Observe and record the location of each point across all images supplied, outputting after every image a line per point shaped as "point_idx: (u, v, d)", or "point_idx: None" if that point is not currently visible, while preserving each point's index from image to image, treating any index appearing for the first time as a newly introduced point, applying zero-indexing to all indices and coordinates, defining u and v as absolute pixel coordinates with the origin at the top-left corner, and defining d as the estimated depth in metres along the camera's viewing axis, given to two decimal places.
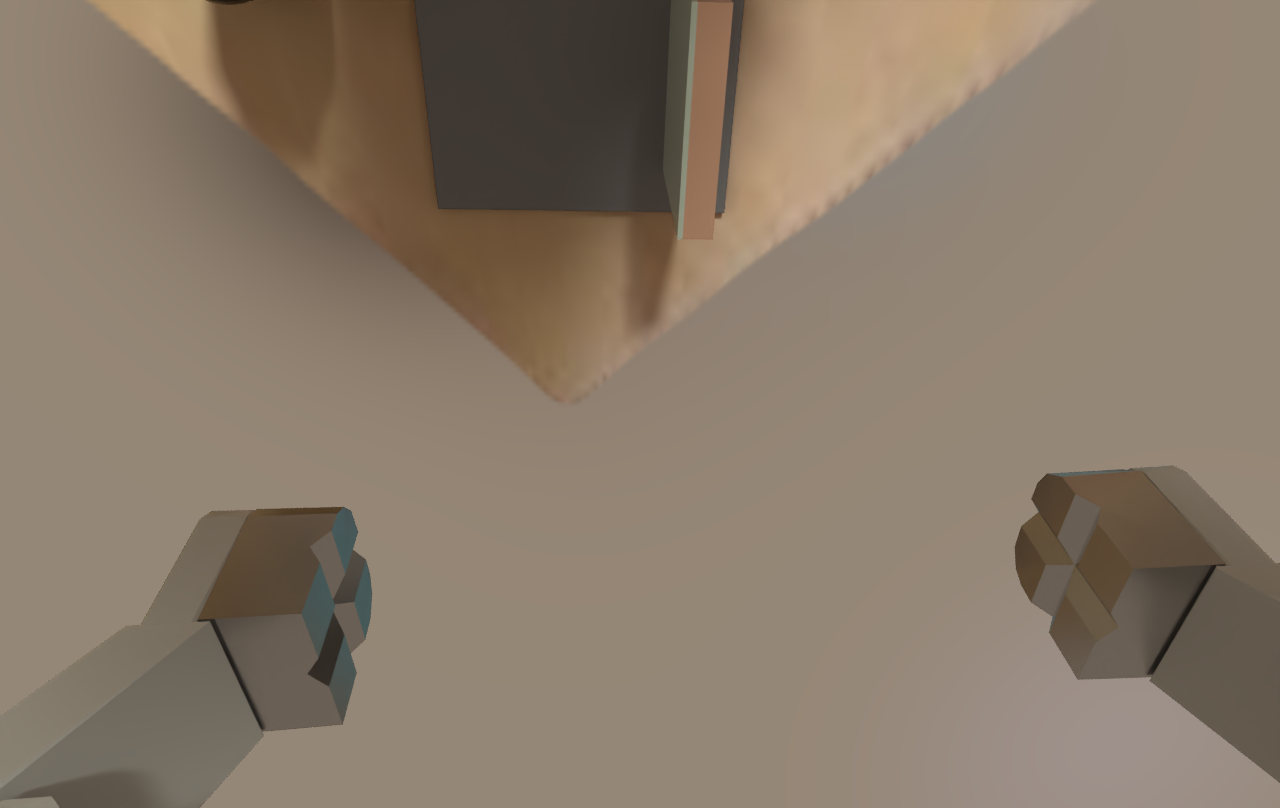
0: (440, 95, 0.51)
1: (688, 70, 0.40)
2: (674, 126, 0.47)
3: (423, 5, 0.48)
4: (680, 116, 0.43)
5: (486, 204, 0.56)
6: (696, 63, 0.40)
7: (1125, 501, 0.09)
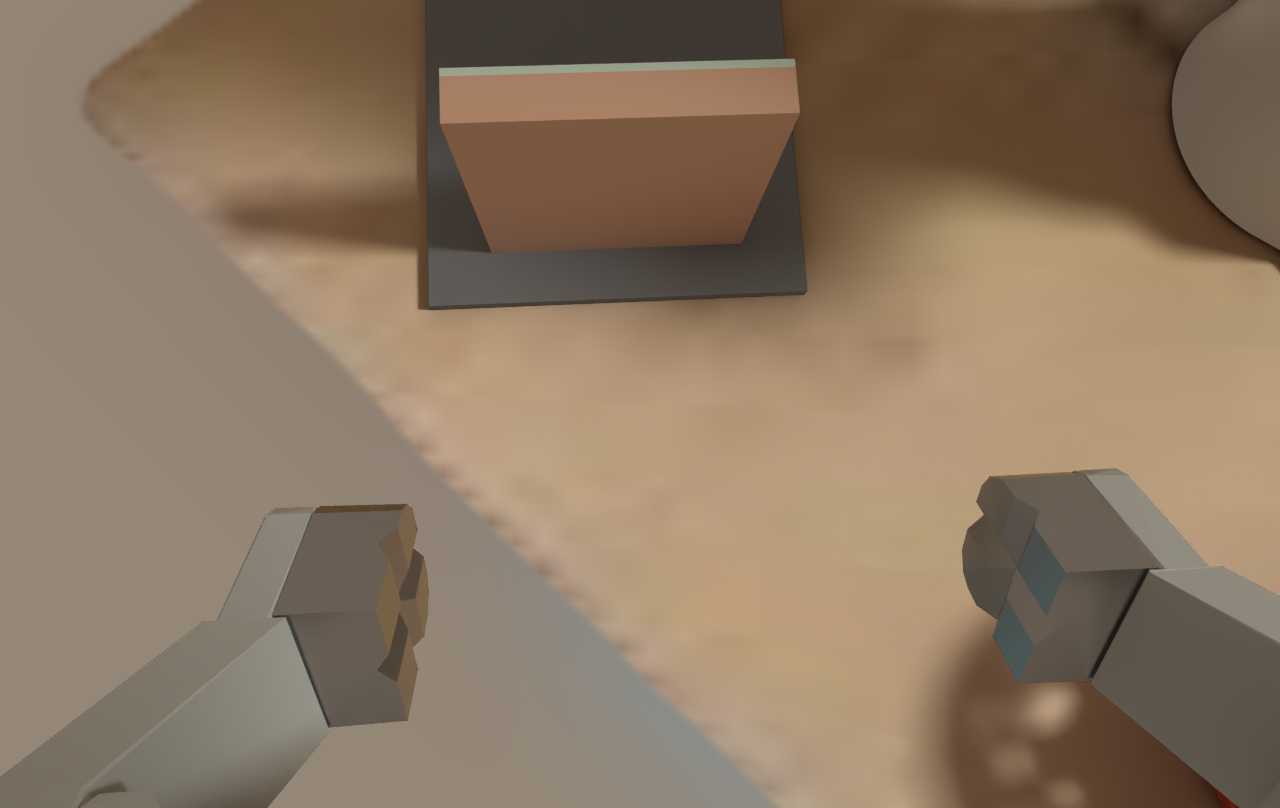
0: None
1: (704, 62, 0.27)
2: None
3: None
4: None
5: None
6: (715, 72, 0.27)
7: (1064, 504, 0.09)
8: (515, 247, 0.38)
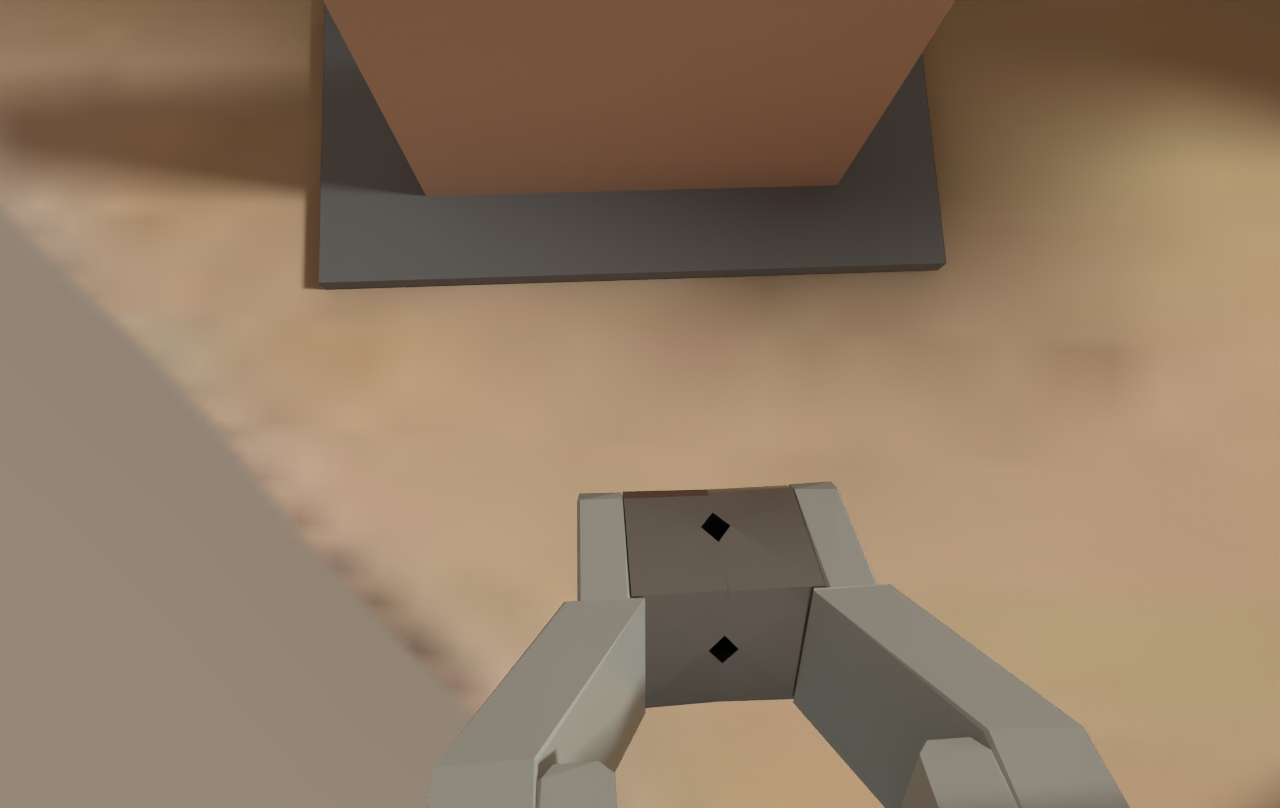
0: None
1: None
2: None
3: None
4: None
5: None
6: None
7: (757, 519, 0.08)
8: (463, 186, 0.23)
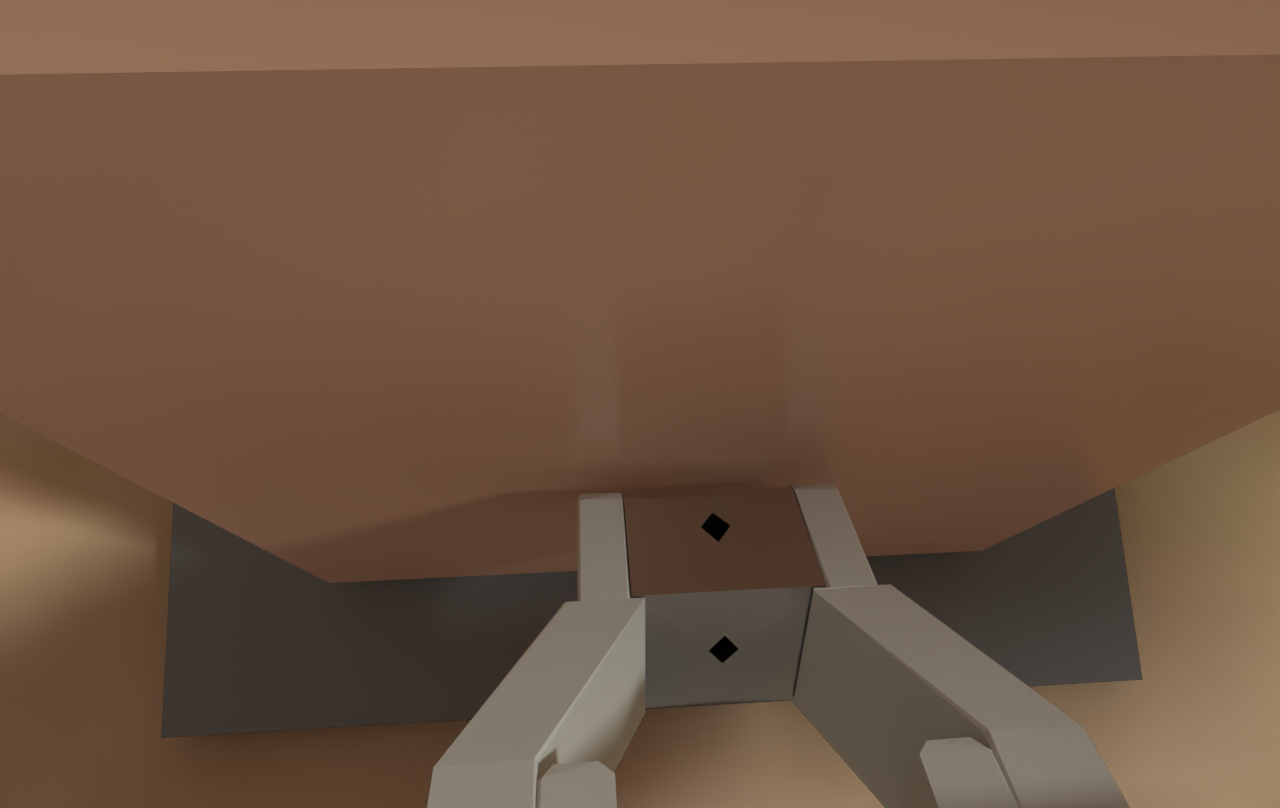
0: None
1: None
2: None
3: None
4: None
5: None
6: None
7: (757, 520, 0.08)
8: (386, 574, 0.14)
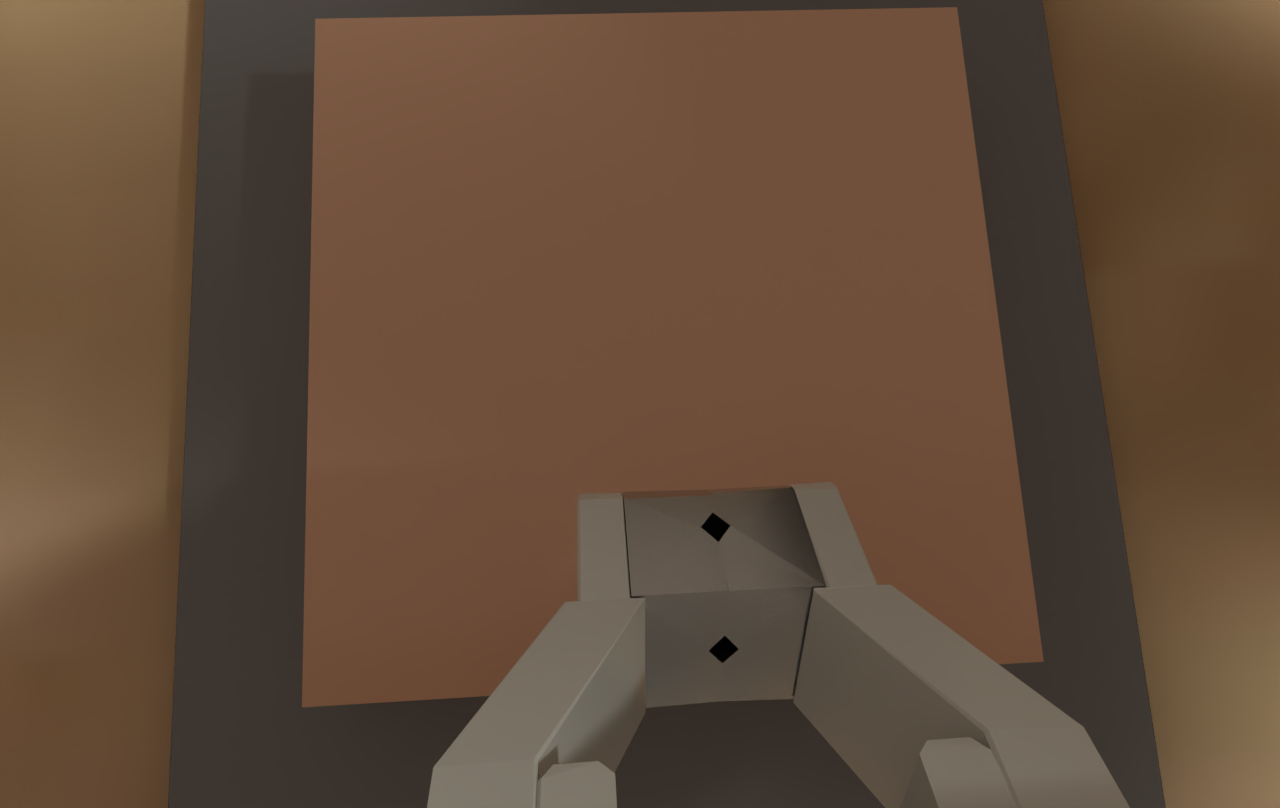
0: None
1: None
2: None
3: None
4: None
5: (218, 86, 0.16)
6: None
7: (758, 519, 0.08)
8: (376, 664, 0.13)
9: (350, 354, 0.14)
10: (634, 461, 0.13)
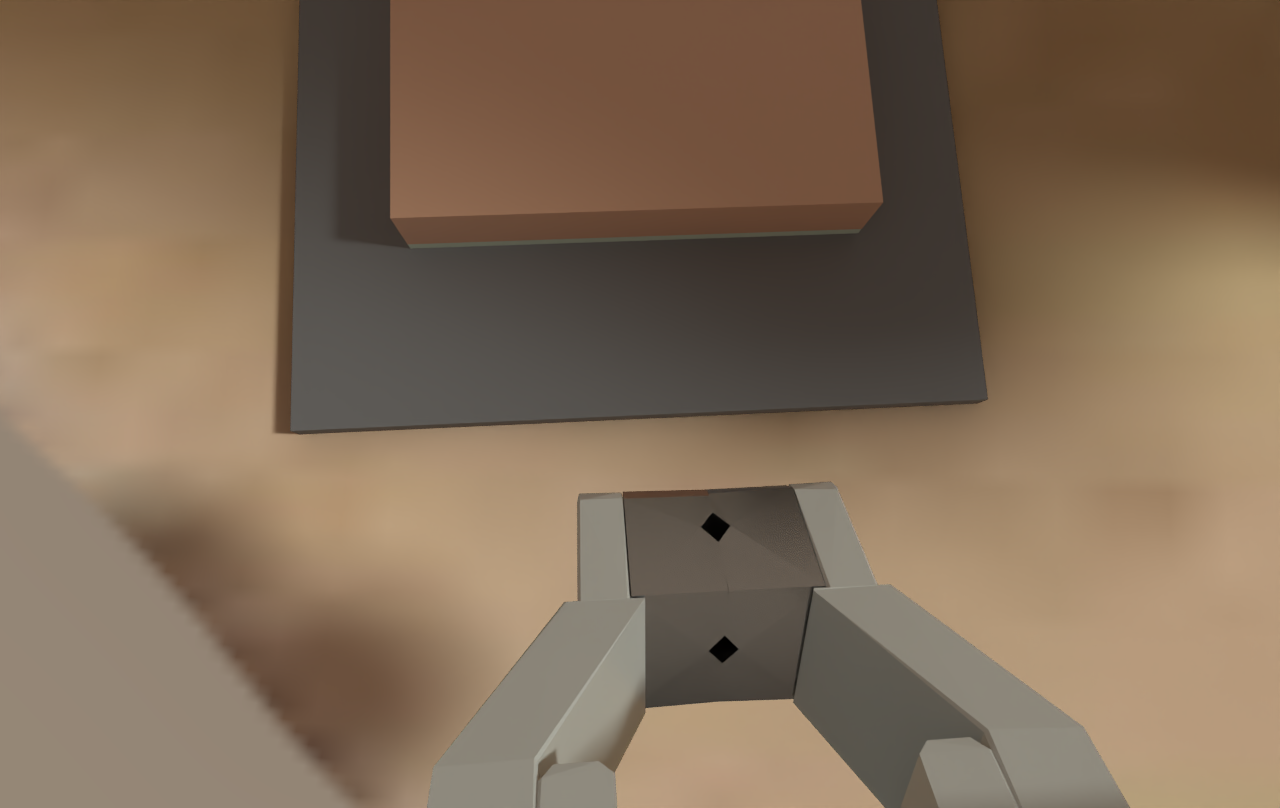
0: None
1: None
2: None
3: None
4: None
5: None
6: None
7: (757, 519, 0.08)
8: (439, 194, 0.19)
9: (418, 4, 0.20)
10: (609, 74, 0.20)
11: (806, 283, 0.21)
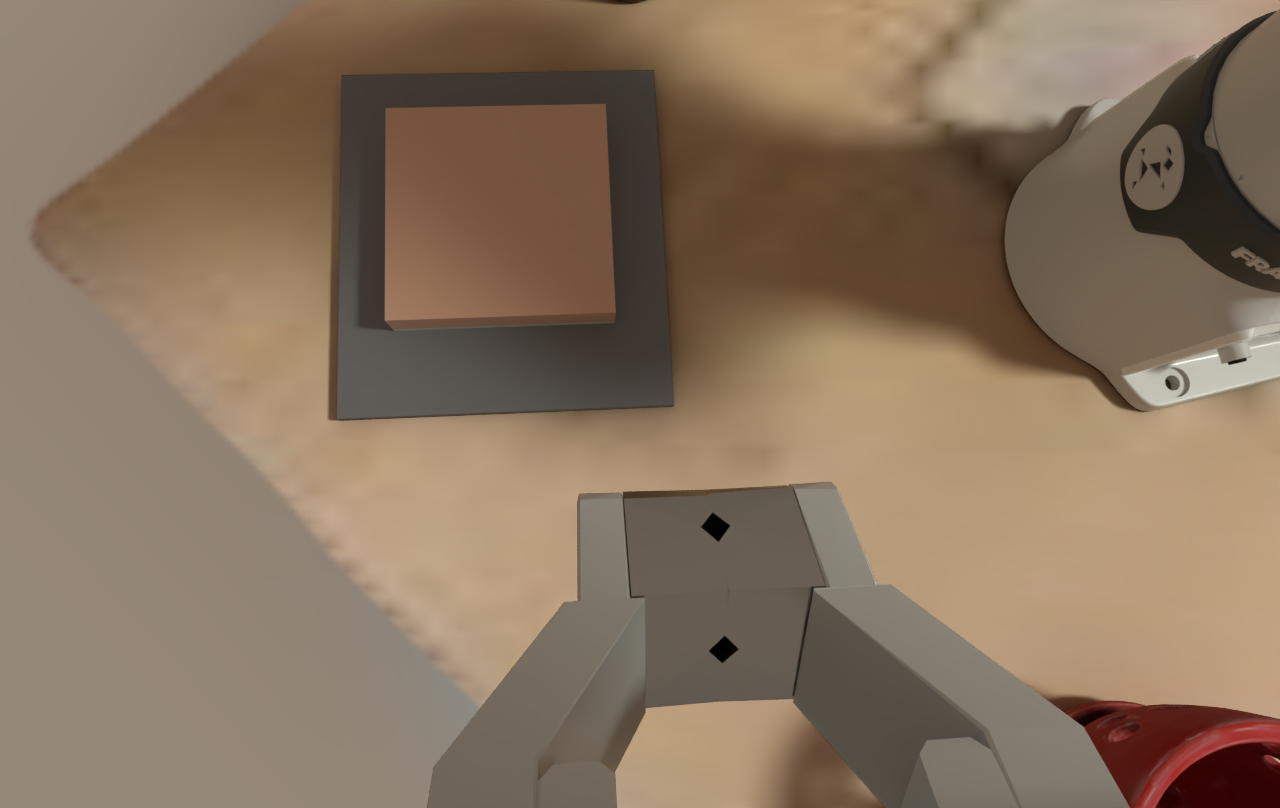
0: (474, 88, 0.46)
1: None
2: None
3: (565, 79, 0.47)
4: None
5: (347, 128, 0.45)
6: None
7: (758, 519, 0.08)
8: (407, 309, 0.42)
9: (398, 217, 0.43)
10: (488, 251, 0.42)
11: (588, 348, 0.44)
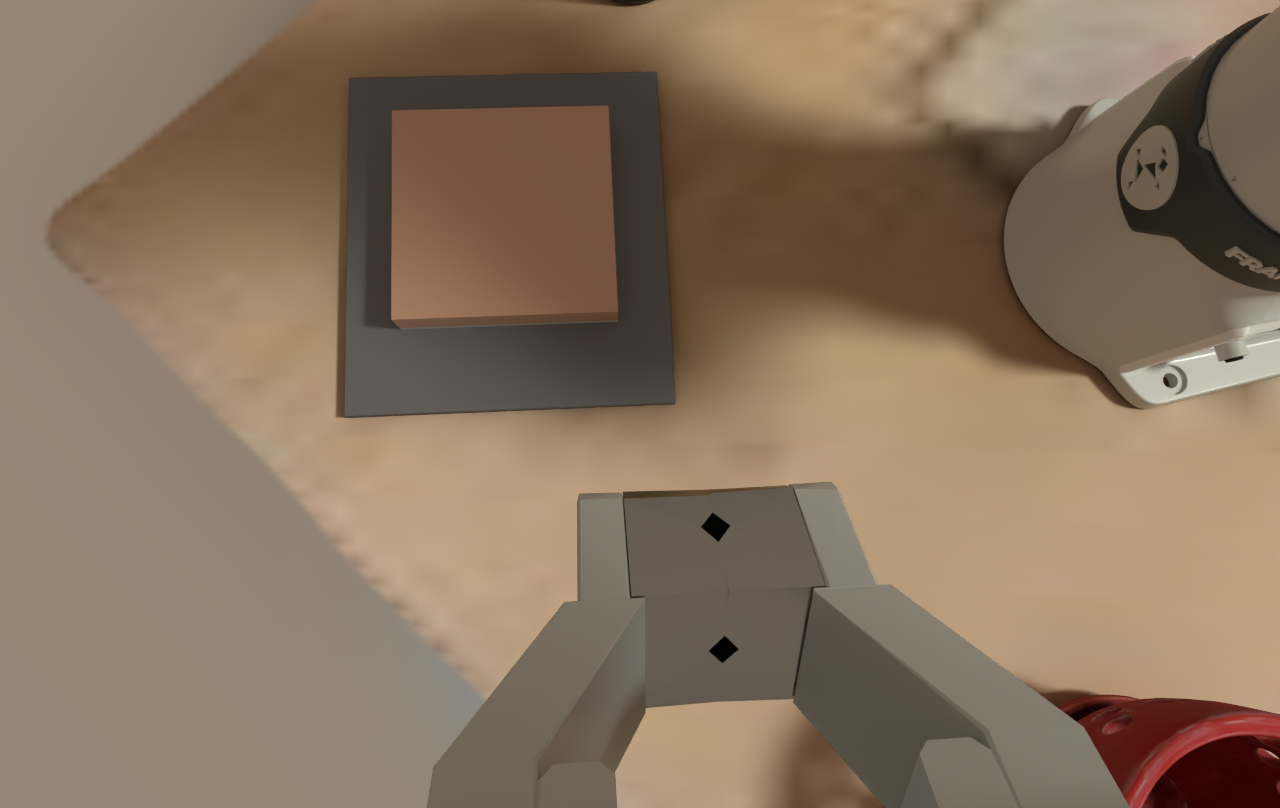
0: (479, 90, 0.47)
1: None
2: None
3: (569, 81, 0.47)
4: None
5: (354, 130, 0.46)
6: None
7: (758, 519, 0.08)
8: (413, 308, 0.42)
9: (404, 217, 0.43)
10: (493, 251, 0.43)
11: (590, 346, 0.45)
